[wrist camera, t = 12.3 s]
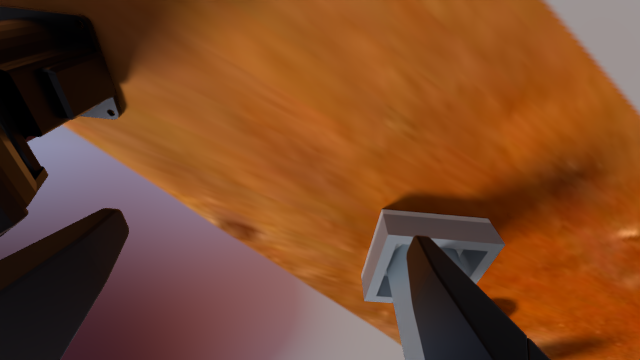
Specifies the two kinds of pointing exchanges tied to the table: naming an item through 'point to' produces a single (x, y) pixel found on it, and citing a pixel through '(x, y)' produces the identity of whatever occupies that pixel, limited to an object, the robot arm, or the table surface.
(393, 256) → the tall grey rectangular prism
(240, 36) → the table surface
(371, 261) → the tray
